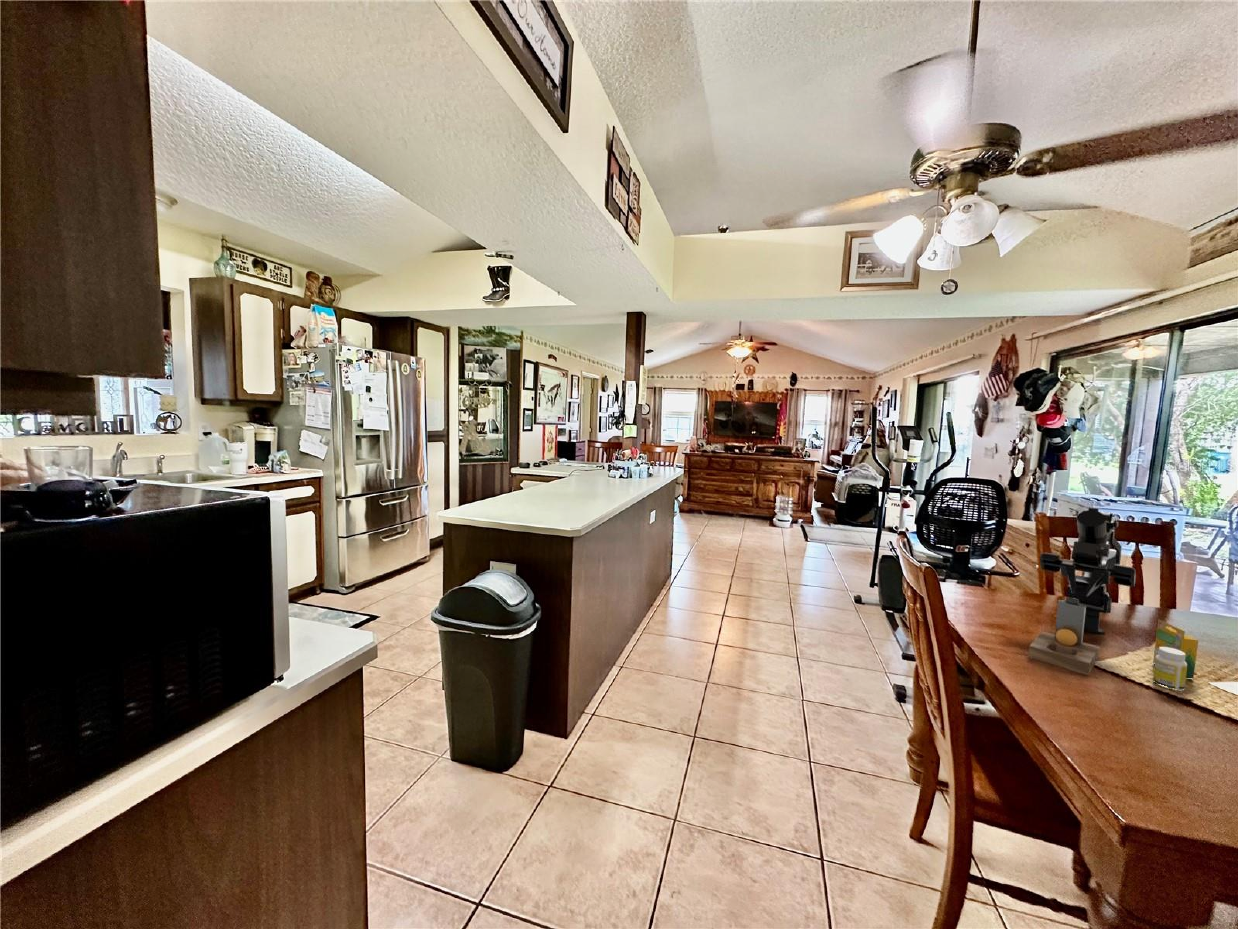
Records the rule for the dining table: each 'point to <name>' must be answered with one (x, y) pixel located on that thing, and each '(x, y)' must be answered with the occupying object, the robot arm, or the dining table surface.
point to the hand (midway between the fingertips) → (1079, 594)
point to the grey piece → (1071, 617)
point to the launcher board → (1064, 653)
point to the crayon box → (1177, 644)
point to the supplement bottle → (1170, 668)
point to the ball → (1066, 637)
